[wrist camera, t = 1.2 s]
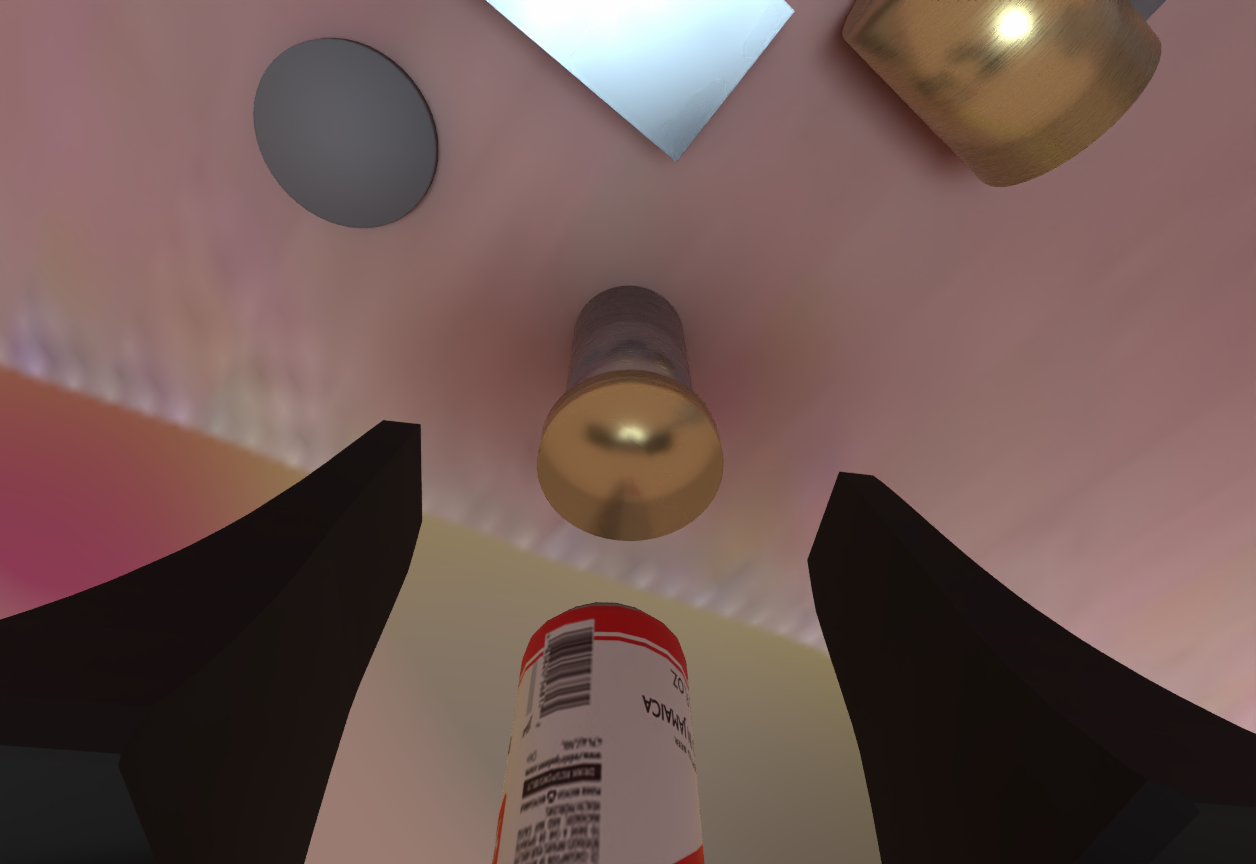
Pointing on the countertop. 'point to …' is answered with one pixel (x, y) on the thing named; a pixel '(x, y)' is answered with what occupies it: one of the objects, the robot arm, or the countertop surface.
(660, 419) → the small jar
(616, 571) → the countertop surface
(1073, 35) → the fixed leaf
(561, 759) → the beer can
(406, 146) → the pad
